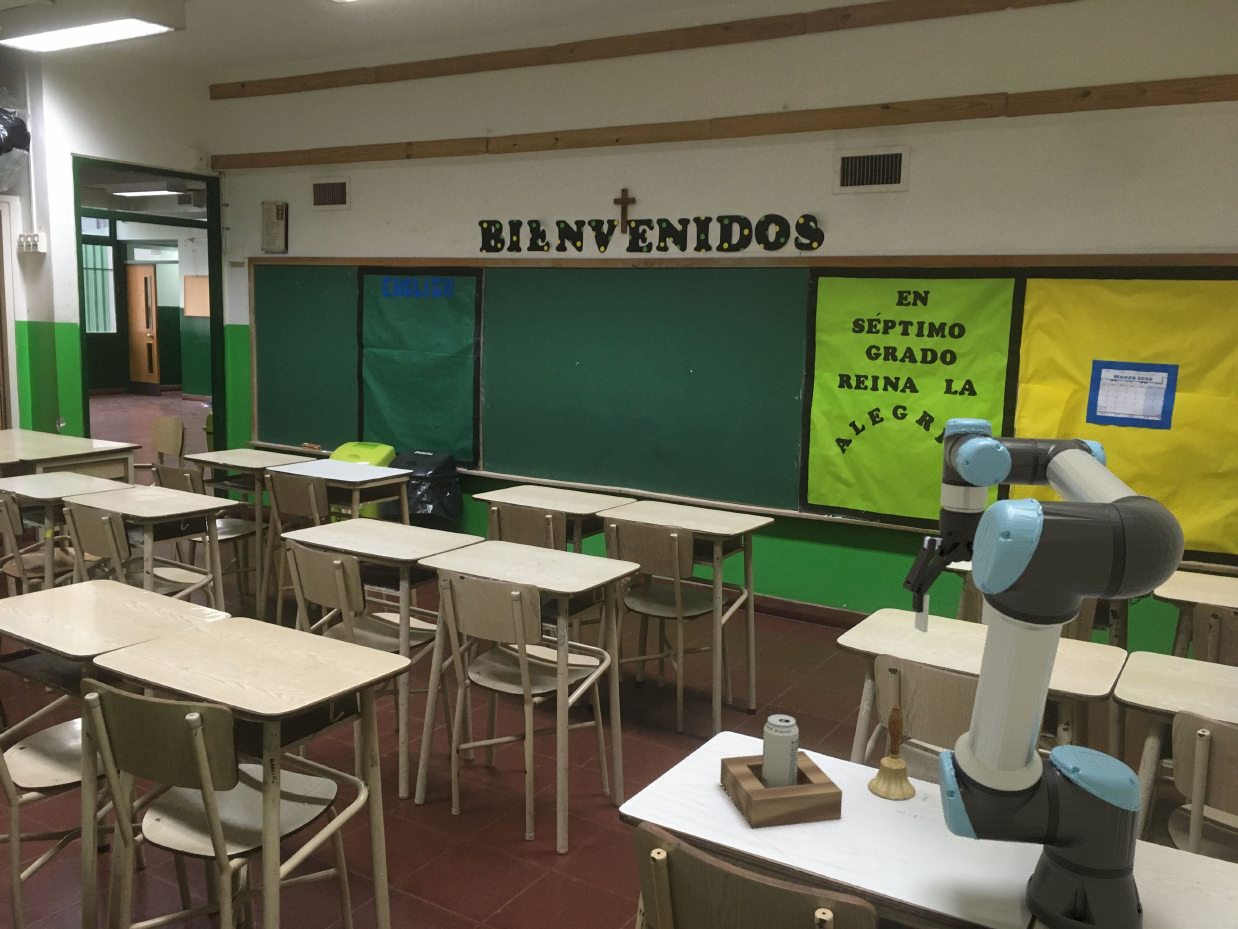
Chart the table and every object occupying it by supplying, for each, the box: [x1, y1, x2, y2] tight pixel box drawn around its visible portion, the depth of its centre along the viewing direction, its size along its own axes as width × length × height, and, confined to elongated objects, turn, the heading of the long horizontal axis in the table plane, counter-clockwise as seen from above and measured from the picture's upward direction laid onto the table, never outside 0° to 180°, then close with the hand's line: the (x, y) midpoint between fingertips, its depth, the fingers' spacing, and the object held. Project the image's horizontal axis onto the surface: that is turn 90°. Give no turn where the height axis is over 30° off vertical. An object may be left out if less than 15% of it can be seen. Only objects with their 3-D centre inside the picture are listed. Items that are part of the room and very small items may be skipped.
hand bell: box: [867, 704, 917, 801], centre depth 175 cm, size 8×8×16 cm
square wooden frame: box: [719, 750, 843, 829], centre depth 170 cm, size 16×16×5 cm
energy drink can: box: [762, 714, 800, 788], centre depth 170 cm, size 6×6×15 cm
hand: (954, 627), depth 170 cm, fingers open, 13 cm apart
